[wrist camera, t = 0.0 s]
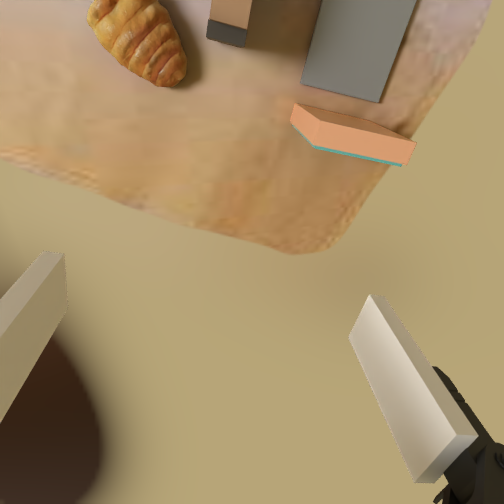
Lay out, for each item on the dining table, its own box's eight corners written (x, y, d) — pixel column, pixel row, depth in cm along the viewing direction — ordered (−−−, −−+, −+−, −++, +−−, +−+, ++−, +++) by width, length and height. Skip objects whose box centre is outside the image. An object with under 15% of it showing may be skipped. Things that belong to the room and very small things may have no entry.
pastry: (204, 56, 34) (202, 57, 31) (159, 103, 36) (153, 108, 33) (131, -37, 30) (120, -47, 27) (84, 21, 32) (68, 18, 29)
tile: (294, 102, 37) (320, 120, 28) (368, 120, 39) (417, 142, 29) (289, 124, 38) (312, 148, 29) (361, 140, 40) (405, 168, 30)
